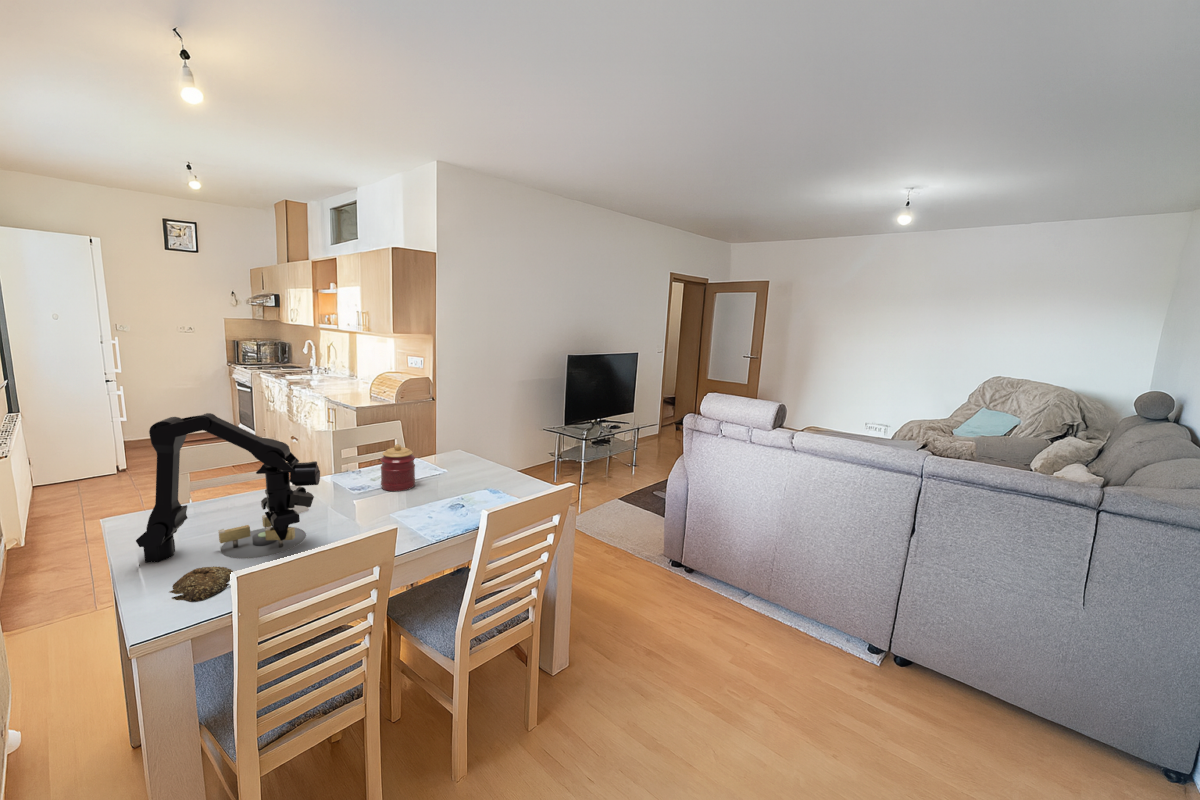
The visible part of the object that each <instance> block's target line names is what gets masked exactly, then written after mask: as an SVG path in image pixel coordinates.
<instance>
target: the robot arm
mask: <svg viewBox="0 0 1200 800" xmlns="http://www.w3.org/2000/svg"><path fill="white" fill-rule="evenodd" d="M202 431H203V432H205V433H208V434H211V435H212V436H215V437H217V438H219V439H222V440H224V441H226V442H228V443H230V444H232V445H235V446H237V447H239V448H241V449H243V450H246V451H247V452H249V453H250V454H251V455H252V456H253V457H254V458H255V459H256V460H258V461H259V462H261V463H262V465H261V466H260V468H259V469H258V470H256V472H255V474H257V475H262V474H265V475H264V476H265V490H264V493H265V495H266V496H265V497H263V499H261V501H260V502H261V503H260V505H261V508H262V510H266V509H267V511H266V512H264V515H266V516H267V518H268V520H269V521H270V523H271V525H272V526H271V527H273V528H274V530H275V531H276V533H277V535H278V536H279V538H280V540H285V538H286V534H287V530H288V527H290V525H293V524H297V523H300V520H301V518H300V513H299V514H298V513H297V512H296V511H295V510H293V509H292V510H290V509H289V508H295V506H294V505H297V506H306V507H308V508H311V507H312V504H313V501H314V498H315V496H314V495H313V494H312V493H311V492H309V491H307V490H306V488H305V487H304V486H308V487H309V486H319V483H320V481H321V480H320V479H321V470H320V467H319V464H318V461H315V460H314V461H307V462H300V460H299V459H298V458H297V457H296V456H295V454H293V453H292V452H291V449H290V446H289V445H288V444H287V443H286V442H282V441H280V440H276V439H273V438H268V437H267V438H266V437H261V436H259V435H257V434H254V433H252V432H250V431H248V430H245V429H243V428H241V427H239V426H237V425H234V424H233V423H231V422H229V421H226V420H225V419H222V418H220V417H218V416H216V414H214V413H209V412H206V413H204V414H201V415H193V416H186V417H183V418H181V417H178V416H170V417H167V418H165V419H162V420H160V421H157V422H155V423H153V424H152V425H151V426H150V428H149V431H148V434H149V438H150V442H151V443H150V444H151V446H152V447H153V449H154V451H155V452H156V453H155V454H156V470H155V471H156V474H155V501H154V502H155V504H154V507H153V509H152V511H151V513H150V515H149V516H148V520H147V525H146V531H144V532H143V533H142V534H141V535H140V536H139V537H137V539H135V542H136V544H137V546H138V547H139V548H143V556H144V563H146V564H147V563H153V564H155V563H160V562H162V561H167V560H168V559H171V558H172V557H173V556H175V552H176V544H175V542H176V541H175V539H174V534H175V533H177V531H178V529H180V527H182V525H184V523H185V521H186V520H187V519H188V516H187V511H188V505H186V504H185V505H182V504H181V503H180V501H179V486H180V485H179V484H180V482H179V481H180V457H181V456H180V455H181V449H182V447H183V445H184V443H185V441H186V439H187V435H189V434H192V433H193V434H194V433H196V432H202ZM290 481H291V483H292V485H295V486H301V487H298V488H297V489H296V490H294V491H293V490H291V488H290ZM140 566H141V565H140V563H139V564H138V567H140Z"/></svg>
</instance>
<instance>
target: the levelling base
mask: <svg viewBox="0 0 1200 800" xmlns="http://www.w3.org/2000/svg"><path fill="white" fill-rule="evenodd" d="M291 527H292V526H288V528H291ZM265 529H266V528H265V527H263V528H258V529H253V530H250V537H246V538H242V539H238V547H237V548H233V541H229V542H225V543H222V545H221V546H220V553H221V554H222V555H223V556H225V557H227V558H231V559H239V560H240V559H241V560H246V559H247V560H248V559H249V560H250V559H257V558H258V559H259V558H264V557H265V558H266V557H270V556H274V555H278V554H281V553H284V552H286V551H288V550H289V551H290V550H291V549H294V548H296V547H297V546H299V545H300V544H302V543H303V542H304V541H305V540H306V538H307V533H306V531H304V530H303V529H301V528H299V527H295V538H294V539H293V540H283V545H284V546H283V547H281V548H279V544H278V540H266V534H265Z"/></svg>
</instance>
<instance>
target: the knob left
mask: <svg viewBox="0 0 1200 800" xmlns="http://www.w3.org/2000/svg"><path fill="white" fill-rule="evenodd" d="M250 531H251V526H250V525H249V524H245V525H241V526H236V527H233V528H228V529H224V528H222V529H218V531H217V532H218V541H219V543H220V544H224V543H226V542H229V541H233V548H237V547H238V539H242V538H246V537H250Z"/></svg>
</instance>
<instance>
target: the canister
mask: <svg viewBox="0 0 1200 800" xmlns="http://www.w3.org/2000/svg"><path fill="white" fill-rule="evenodd" d="M413 454H414V452H413V450H411V449H409V448H407V447H404V446H402V445H401V444H400V443H399V444H395V445H394V447H391V448H387V449H386V450H385V451H383V452H382V455H383V456H381V458H380V461H381V466H380V473H381V474H380V477H381V478H380V480H381V481H380V486H381V488H382V489H383V490H384V491H388V492H399V491H400V492H401V491H407V490H410V489H412V488H413V487H415V485H416V472H415V471H416V470H415V467H416V464H415V462H414V461H415V460H416V456H415V455H413Z"/></svg>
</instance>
